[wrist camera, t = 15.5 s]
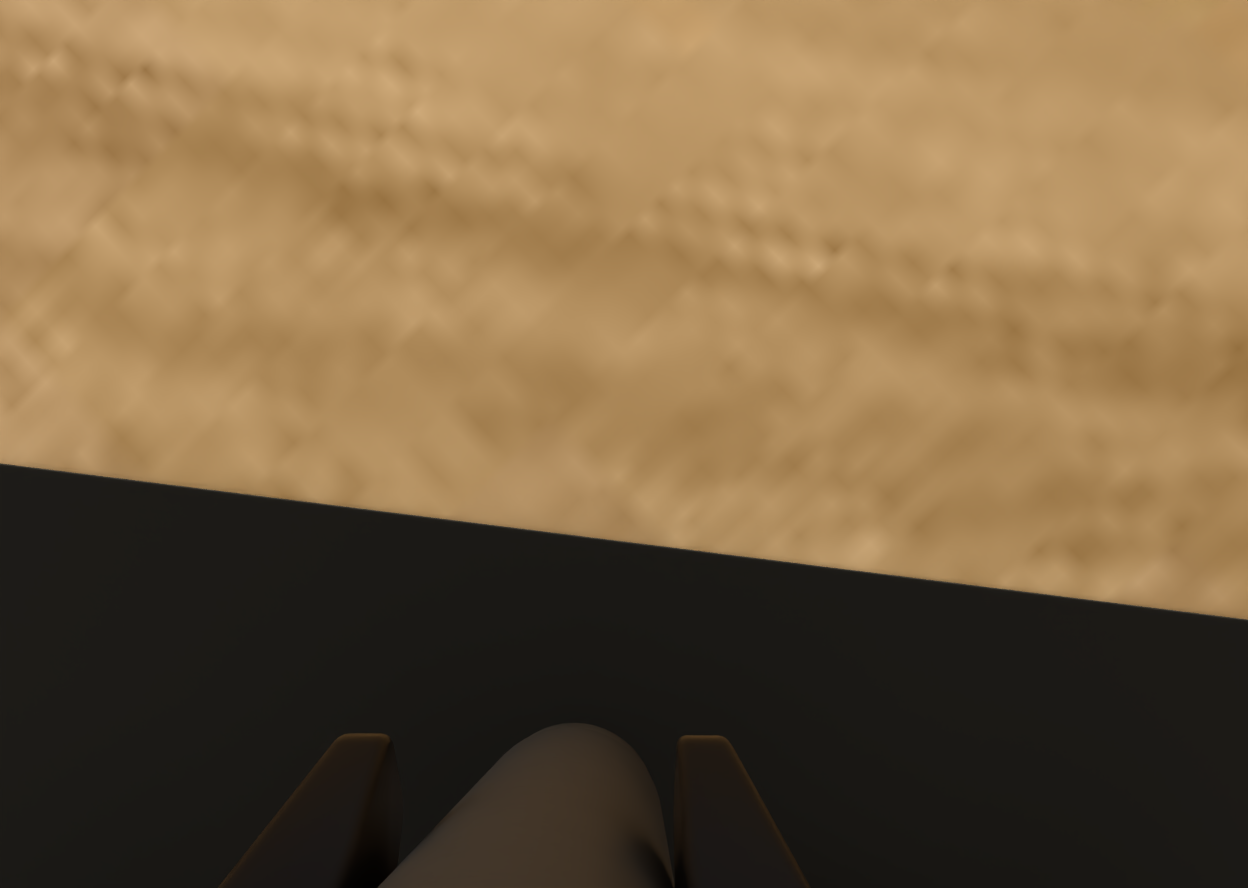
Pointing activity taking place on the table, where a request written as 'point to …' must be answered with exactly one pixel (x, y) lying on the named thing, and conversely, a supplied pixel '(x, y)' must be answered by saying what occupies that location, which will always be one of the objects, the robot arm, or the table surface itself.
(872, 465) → the table surface
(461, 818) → the teal capped marker
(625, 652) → the tablet
